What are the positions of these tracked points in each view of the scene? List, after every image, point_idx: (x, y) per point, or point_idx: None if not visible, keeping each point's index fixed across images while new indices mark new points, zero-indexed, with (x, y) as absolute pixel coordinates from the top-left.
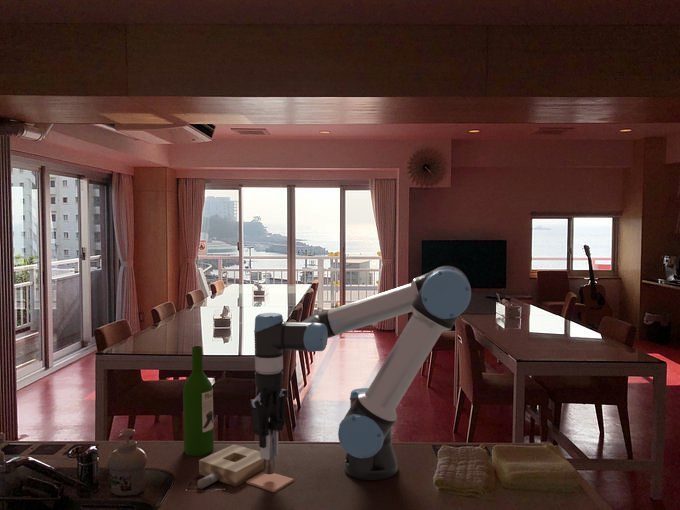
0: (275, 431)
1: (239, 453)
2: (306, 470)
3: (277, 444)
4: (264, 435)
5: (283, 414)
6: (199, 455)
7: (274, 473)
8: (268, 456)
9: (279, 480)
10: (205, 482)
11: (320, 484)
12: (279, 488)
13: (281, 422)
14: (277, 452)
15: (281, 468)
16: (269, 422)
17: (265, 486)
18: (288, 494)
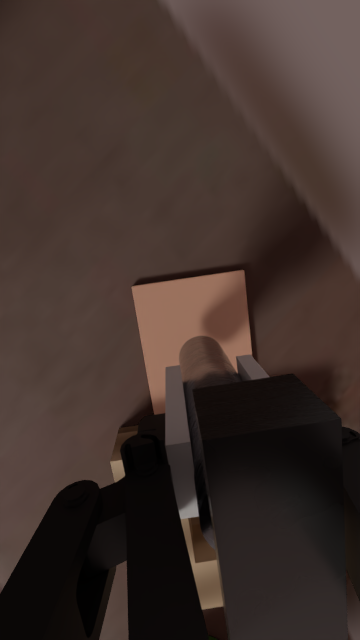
0: (189, 455)
1: (189, 544)
2: (33, 315)
3: (174, 390)
4: (355, 432)
5: (25, 614)
6: (213, 638)
7: (149, 373)
8: (251, 360)
9: (176, 317)
10: None
11: (78, 181)
12: (216, 274)
13: (234, 427)
14: (173, 370)
15: (91, 396)
16: (341, 535)
17: (244, 318)
18: (220, 219)
